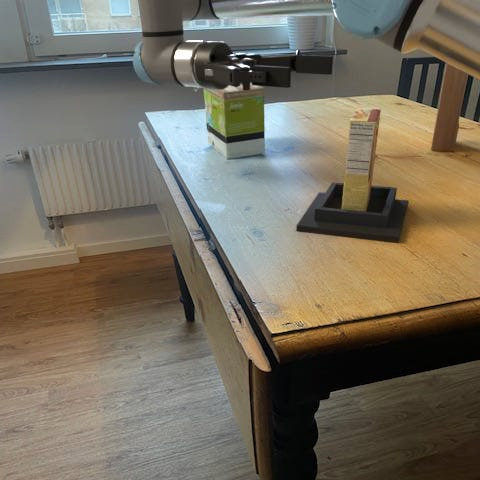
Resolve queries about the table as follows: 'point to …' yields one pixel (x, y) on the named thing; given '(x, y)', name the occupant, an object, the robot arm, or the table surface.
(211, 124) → the tea box
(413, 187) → the table surface
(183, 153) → the table surface
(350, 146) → the candy box
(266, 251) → the table surface
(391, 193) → the dock pad
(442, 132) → the wooden block
